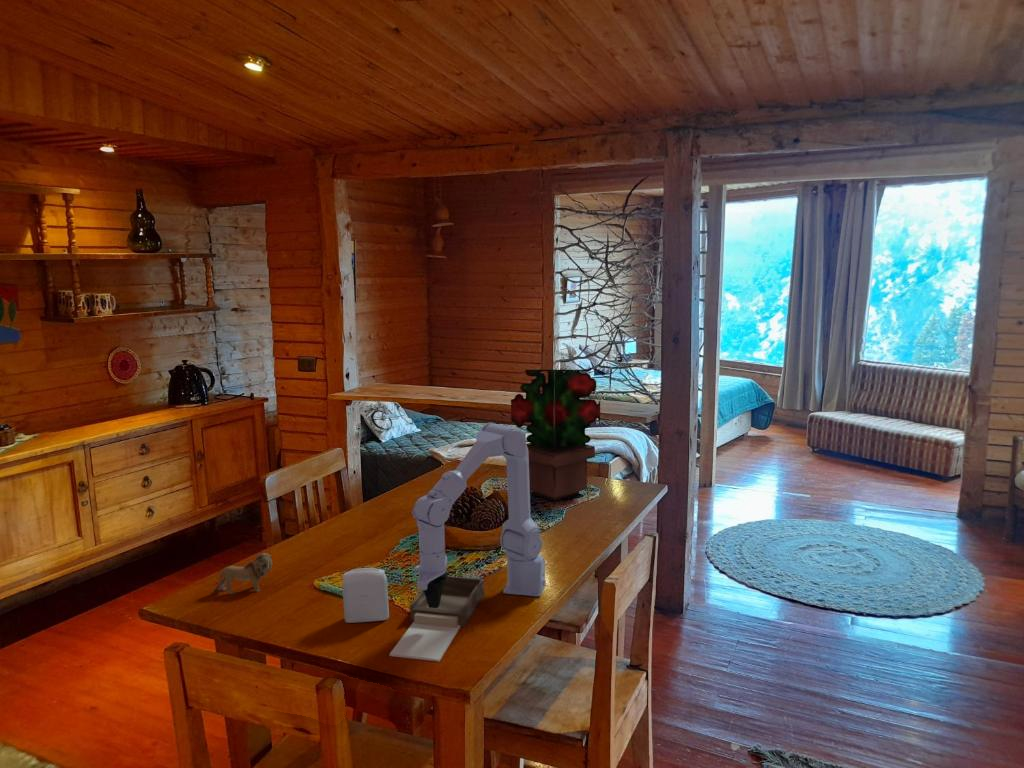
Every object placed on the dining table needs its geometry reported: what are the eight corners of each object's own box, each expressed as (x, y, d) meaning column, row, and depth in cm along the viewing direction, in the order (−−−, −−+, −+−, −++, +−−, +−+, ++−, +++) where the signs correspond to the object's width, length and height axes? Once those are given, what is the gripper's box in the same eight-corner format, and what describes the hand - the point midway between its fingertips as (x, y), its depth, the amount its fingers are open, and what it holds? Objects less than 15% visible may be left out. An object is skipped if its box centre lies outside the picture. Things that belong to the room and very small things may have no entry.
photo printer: (343, 624, 168) (340, 574, 166) (345, 616, 172) (342, 566, 170) (388, 622, 169) (386, 571, 167) (389, 613, 173) (387, 564, 171)
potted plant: (557, 481, 276) (556, 363, 269) (599, 494, 259) (600, 369, 252) (512, 493, 262) (510, 369, 255) (554, 508, 246) (553, 376, 238)
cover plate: (414, 624, 168) (414, 612, 168) (460, 629, 166) (460, 616, 165) (389, 658, 154) (389, 645, 154) (439, 663, 152) (438, 650, 151)
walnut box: (435, 589, 185) (434, 574, 184) (484, 594, 182) (484, 579, 181) (410, 621, 169) (409, 605, 168) (464, 626, 166) (463, 610, 165)
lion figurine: (273, 581, 191) (271, 549, 190) (274, 589, 186) (271, 556, 185) (213, 590, 187) (210, 557, 185) (212, 599, 182) (209, 565, 180)
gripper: (426, 536, 170) (428, 591, 173) (403, 560, 157) (405, 619, 159) (455, 538, 169) (456, 593, 171) (434, 563, 155) (436, 623, 157)
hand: (434, 606), depth 165 cm, fingers closed
